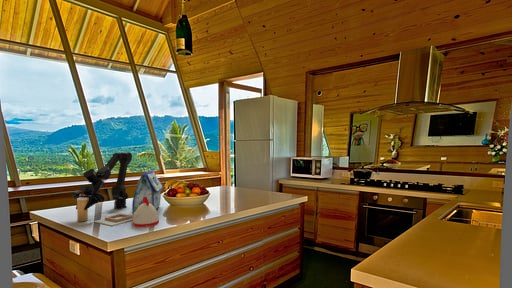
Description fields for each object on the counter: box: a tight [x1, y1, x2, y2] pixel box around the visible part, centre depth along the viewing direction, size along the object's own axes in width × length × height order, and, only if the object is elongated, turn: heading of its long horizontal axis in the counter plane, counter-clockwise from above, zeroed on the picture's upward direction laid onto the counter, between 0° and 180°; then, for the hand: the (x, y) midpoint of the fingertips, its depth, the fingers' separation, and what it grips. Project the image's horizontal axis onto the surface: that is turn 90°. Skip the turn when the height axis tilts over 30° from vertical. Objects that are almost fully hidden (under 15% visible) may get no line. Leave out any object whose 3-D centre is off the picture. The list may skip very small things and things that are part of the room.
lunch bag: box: [131, 170, 164, 215], centre depth 192 cm, size 22×17×26 cm
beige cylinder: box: [76, 197, 89, 222], centre depth 167 cm, size 6×6×13 cm
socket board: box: [94, 213, 133, 227], centre depth 168 cm, size 20×16×2 cm
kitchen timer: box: [132, 197, 160, 228], centre depth 162 cm, size 14×14×15 cm
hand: (80, 209), depth 165 cm, fingers closed on beige cylinder, 5 cm apart
